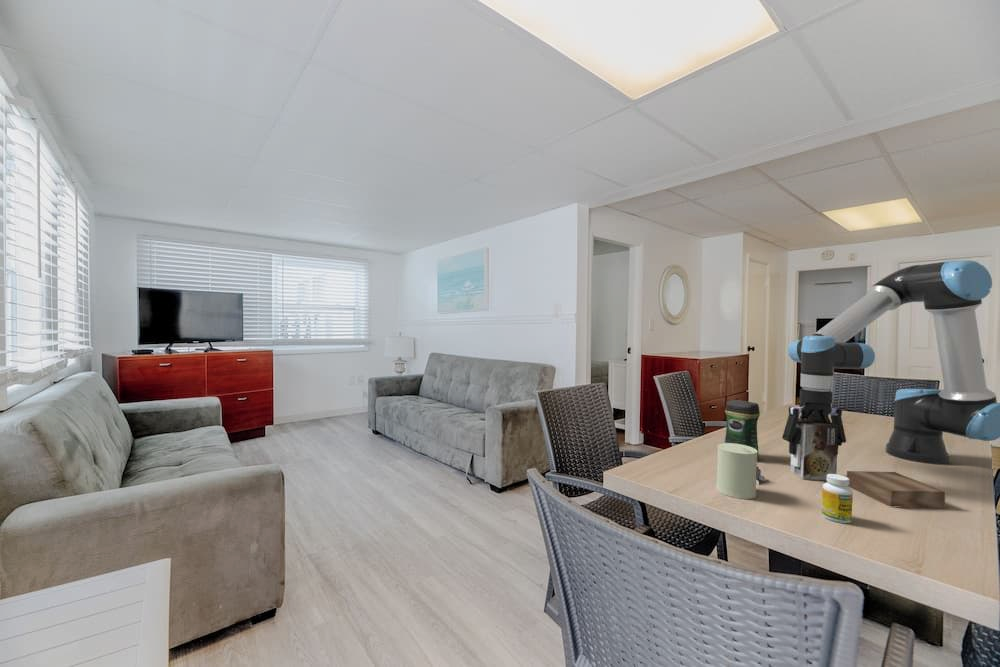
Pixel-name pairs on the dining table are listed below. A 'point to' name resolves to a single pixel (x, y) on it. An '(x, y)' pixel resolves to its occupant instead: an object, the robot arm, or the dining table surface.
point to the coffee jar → (742, 423)
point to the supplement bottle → (837, 499)
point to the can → (736, 470)
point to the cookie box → (817, 450)
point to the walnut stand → (896, 489)
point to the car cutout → (759, 476)
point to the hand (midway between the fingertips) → (812, 465)
